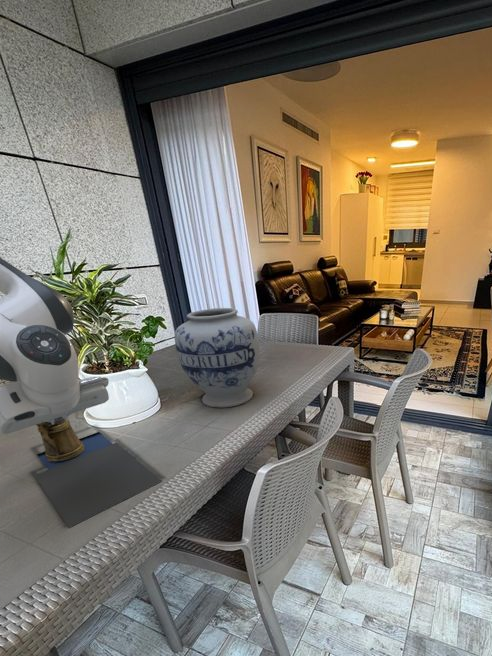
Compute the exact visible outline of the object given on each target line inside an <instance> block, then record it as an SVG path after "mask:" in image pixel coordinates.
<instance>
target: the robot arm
mask: <svg viewBox="0 0 492 656" xmlns="http://www.w3.org/2000/svg"><path fill="white" fill-rule="evenodd" d="M0 293H2V294H3V296H1V297H0V380H2V381H7V382H8V383H5V384H3V385H1V386H0V434H3V435H7V434H12V433H14V432H17V431H18V432H19V431H20V430H21V431H22V430H24V429H27V428H29V427H33V426H37V424H40V423H43V422H50V423H51V424H52V425H53V424H56V423H59V422H62V421H66V420H67V418H68V417H70V416H71V414H75V413H78V412H80V411H83V410H84V411H85V410H86V409H87V410H88V409H90V408H93V407H96V406H99V405H103V404H106V402H108V401H109V399H110V395H109V391H108V389H107V387H108V386H109V383H110V381H109V378H108V377H106V376H104V377H101V376H90V377H87V378H82V379H79V377H80V376H79V375H80V367H79V365H80V364H79V359H78V355H77V351H76V350H75V347H74V345H73V344H72V342H71V340H70V339H69V338H68V337H67V336H66V335H68V334H69V333H71V332H72V331H73V329H74V325H75V315H74V309H73V307H72V305H71V303H70V302H69V300H68V299H67V298H66V297H65V296H64V295H63V294H62V293H60V292H59V291H58V290H56V289H54V288H53V287H52V286H50V285H47V284H46V283H44V282H42V281H40V280H38V279H35V278H34V277H32V276H30V275H28V274H26V273H25V272H24V271H22V270H20V269H19V268H17V267H15V266H14V265H13V264H12V263H10V262H8V261H6V260H5V259H3V258H2V257H0Z"/></svg>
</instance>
